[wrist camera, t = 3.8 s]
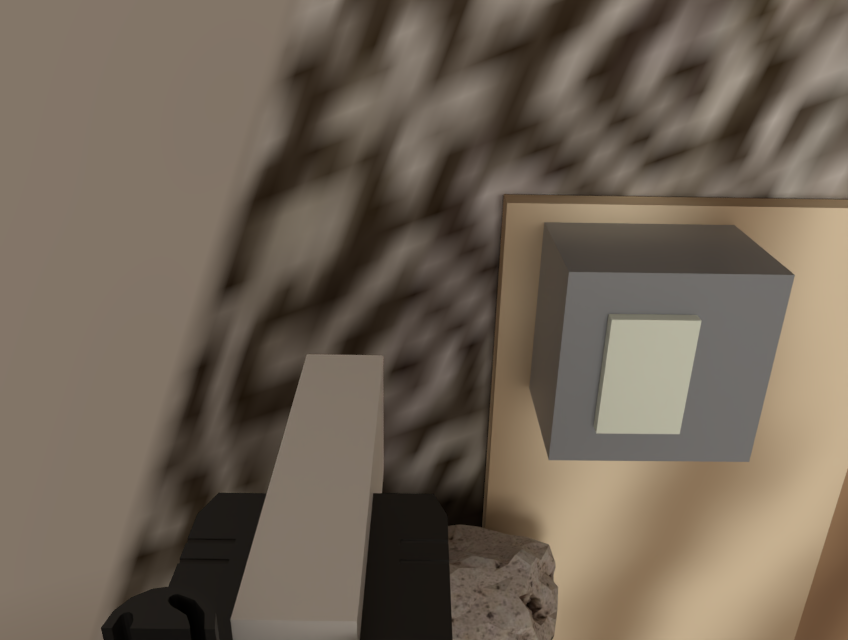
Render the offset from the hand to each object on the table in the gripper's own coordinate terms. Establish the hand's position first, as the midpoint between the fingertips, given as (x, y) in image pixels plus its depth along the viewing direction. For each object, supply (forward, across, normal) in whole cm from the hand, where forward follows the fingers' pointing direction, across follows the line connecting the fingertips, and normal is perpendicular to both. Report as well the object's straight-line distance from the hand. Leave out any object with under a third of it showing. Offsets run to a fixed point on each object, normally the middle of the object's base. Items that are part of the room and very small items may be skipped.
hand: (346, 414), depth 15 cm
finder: (+6, +7, 0) cm, 9 cm away
